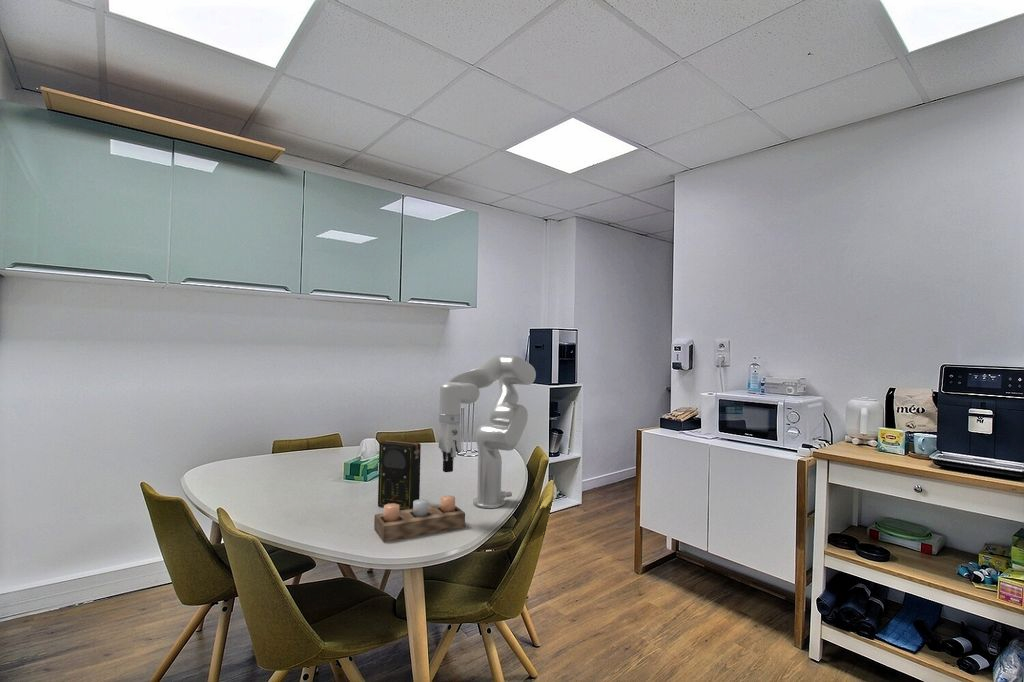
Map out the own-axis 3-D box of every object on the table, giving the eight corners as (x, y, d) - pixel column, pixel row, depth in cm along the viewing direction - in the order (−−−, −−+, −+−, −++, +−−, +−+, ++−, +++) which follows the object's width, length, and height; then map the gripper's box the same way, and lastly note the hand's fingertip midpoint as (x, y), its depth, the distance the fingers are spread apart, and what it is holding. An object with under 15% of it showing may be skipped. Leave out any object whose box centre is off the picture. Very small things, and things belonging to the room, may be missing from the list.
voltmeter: (375, 507, 182) (376, 442, 183) (388, 500, 190) (389, 438, 191) (410, 513, 177) (411, 445, 177) (422, 506, 185) (423, 441, 185)
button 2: (451, 508, 170) (451, 494, 170) (457, 512, 166) (457, 498, 166) (438, 510, 168) (438, 496, 168) (443, 515, 163) (444, 500, 163)
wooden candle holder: (451, 516, 174) (451, 502, 174) (464, 527, 163) (465, 512, 164) (374, 529, 160) (374, 514, 160) (383, 542, 150) (383, 526, 150)
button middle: (424, 512, 165) (425, 498, 165) (429, 517, 161) (430, 502, 161) (410, 515, 163) (411, 500, 163) (415, 519, 158) (415, 504, 158)
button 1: (396, 517, 160) (396, 502, 160) (400, 522, 156) (401, 507, 156) (381, 519, 158) (382, 504, 158) (385, 524, 153) (386, 509, 154)
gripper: (468, 421, 163) (466, 475, 162) (451, 416, 176) (449, 466, 175) (447, 422, 159) (445, 477, 158) (432, 416, 172) (430, 467, 171)
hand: (447, 471), depth 167 cm, fingers closed
